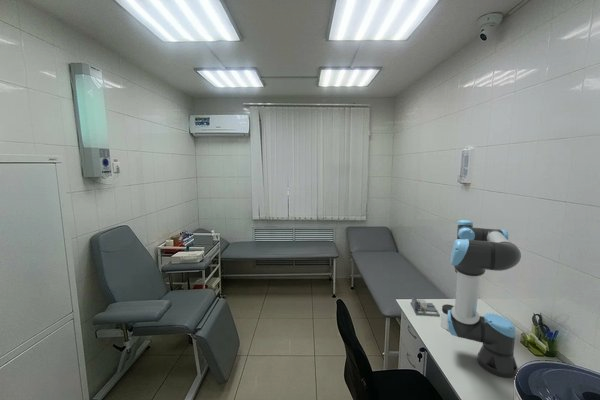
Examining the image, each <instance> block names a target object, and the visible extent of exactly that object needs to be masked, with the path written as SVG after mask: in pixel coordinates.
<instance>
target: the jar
mask: <svg viewBox="0 0 600 400" xmlns="http://www.w3.org/2000/svg"><path fill="white" fill-rule="evenodd" d="M454 306H455V305H452V304H443V305H442V306H441V311H440V312H441V313H440V327H441V328H443V329H445V330H446V331H448V332H449V327H448V310H451V309H452V307H454Z"/></svg>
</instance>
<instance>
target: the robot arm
mask: <svg viewBox="0 0 600 400" xmlns="http://www.w3.org/2000/svg"><path fill="white" fill-rule="evenodd" d="M473 223H474V222H473V221H471V220H469V219H468V220H467V219H460V220H458V221H457V226H456V227H457V230H456V231H457V234H456V239H455V241H453V245H452V247H451V248H452V249H451V253H450V264H451V266H453V268H454V271H455V273H456V276H457V277H456V287H455V288H456V289H455V303H454V305H453V306H454V307H452V309H451V310H448V327H449V331H448V332H449V334H450V335H451V336H454V337H457V338H461V339H465V340H470V341H473V342H479V343H482V345H481V347H480V349H479V351H478V353H477V357H476V358H477V359H476V360H477V362H478V364H479V365H480V367H482V368H483V369H484V370H486V371H487V372H489V373H491V374H492V375H495V376H498V377H502V378H514V377H516V376H517V375H516V373H517V374H518V365H517V361H516V358H515V355H514V354H515V353H514V352H515V343H516V342H515V339H516V336H517V335H516V327H515V325H514V324H513V322H511V321H510V320H509V319H507V318H506V317H504V316H502V315H499V314H497V313H496V314H495V313H494V312H493V313H491V312H489V313H488V312H487V313H485V314H484V316H481V315H480V314H479V312H478V311H477V308H478V300H479V291H480V282H481V276H483V275H484V274H485V272H486V270H487V271H497V272H500V271H501V272H502V271H507V270H509V269H513V268H514V267H516V266H517V265H518V264H519V263H520V261H521V259H522V252H521V251H520V249H519V247H518V246H517V245H516V244H514V243H512V242H510V241H509V232H508V231H507V229H500V228H497V229H496V228H484V227H483V228H482V227H474V226H473V225H474V224H473Z"/></svg>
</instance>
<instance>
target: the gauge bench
mask: <svg viewBox="0 0 600 400" xmlns="http://www.w3.org/2000/svg"><path fill="white" fill-rule="evenodd" d="M426 303H427V309H424V310H425V312H424V310H423V309H420V308H419V306H418V298H417V297H416V296H415V295H412V296H411V301H410V306H411V307H412V310H413V312H414V314H415V315H416V316H424V317H425V316H427V317H441V313H439V310H438V309H437V308H436V307H435V305H434V304H433V302H426Z"/></svg>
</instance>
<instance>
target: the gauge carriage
mask: <svg viewBox="0 0 600 400" xmlns="http://www.w3.org/2000/svg"><path fill="white" fill-rule="evenodd" d="M417 301H418V306H419V308H420V309H423V310H424V309H427V303H428V302H426V300H425V299H419V298H417ZM424 312H425V310H424Z"/></svg>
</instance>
